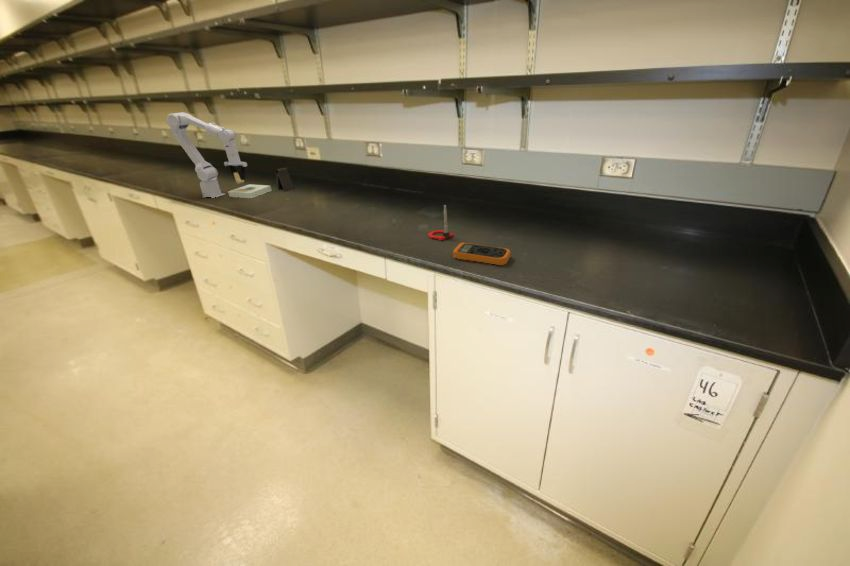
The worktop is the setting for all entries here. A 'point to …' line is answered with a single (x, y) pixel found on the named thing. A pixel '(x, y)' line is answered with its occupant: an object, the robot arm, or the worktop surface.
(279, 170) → the phone stand
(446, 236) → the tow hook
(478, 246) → the multimeter
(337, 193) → the worktop surface
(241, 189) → the plate
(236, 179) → the cylinder
